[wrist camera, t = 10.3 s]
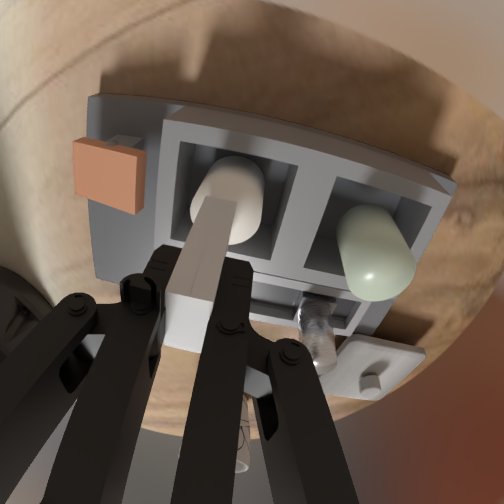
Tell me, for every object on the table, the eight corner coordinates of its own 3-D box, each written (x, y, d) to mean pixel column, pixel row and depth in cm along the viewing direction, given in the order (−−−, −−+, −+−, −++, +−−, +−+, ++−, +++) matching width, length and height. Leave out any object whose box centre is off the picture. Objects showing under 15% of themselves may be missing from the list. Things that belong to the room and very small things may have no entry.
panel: (102, 267, 28) (76, 308, 23) (98, 93, 18) (53, 109, 14) (369, 323, 29) (379, 369, 25) (449, 175, 20) (485, 211, 15)
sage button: (327, 249, 19) (335, 294, 15) (348, 196, 17) (364, 235, 13) (379, 261, 19) (395, 305, 16) (403, 213, 17) (427, 253, 14)
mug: (231, 421, 44) (223, 479, 36) (179, 405, 42) (165, 465, 34) (266, 392, 38) (261, 464, 30) (204, 373, 36) (189, 447, 28)
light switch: (348, 316, 29) (355, 359, 25) (423, 334, 30) (435, 372, 26) (306, 371, 34) (306, 409, 30) (375, 383, 35) (381, 417, 31)
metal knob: (292, 311, 26) (293, 372, 21) (302, 286, 25) (305, 350, 20) (323, 316, 26) (329, 377, 21) (335, 293, 25) (345, 355, 20)
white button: (202, 203, 20) (186, 236, 17) (210, 150, 18) (194, 174, 15) (257, 214, 20) (252, 251, 17) (270, 162, 18) (268, 190, 15)
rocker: (87, 187, 19) (74, 195, 18) (86, 134, 17) (72, 139, 16) (146, 207, 19) (134, 216, 18) (150, 148, 16) (136, 155, 15)
